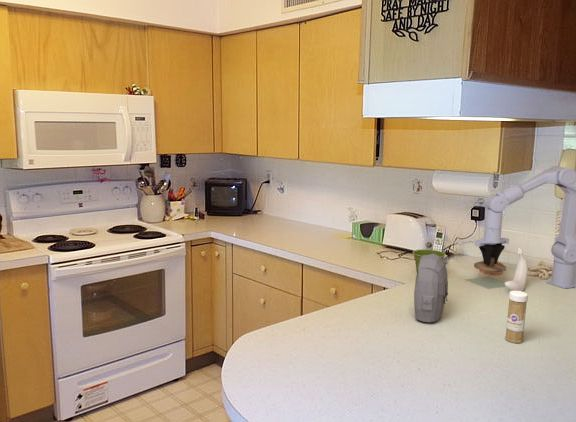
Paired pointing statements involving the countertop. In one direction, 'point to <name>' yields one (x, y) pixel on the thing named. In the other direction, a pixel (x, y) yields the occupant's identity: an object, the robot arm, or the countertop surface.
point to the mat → (487, 282)
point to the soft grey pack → (430, 288)
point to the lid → (490, 266)
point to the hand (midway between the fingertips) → (490, 263)
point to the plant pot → (420, 253)
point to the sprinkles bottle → (516, 316)
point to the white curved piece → (519, 274)
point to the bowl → (490, 271)
